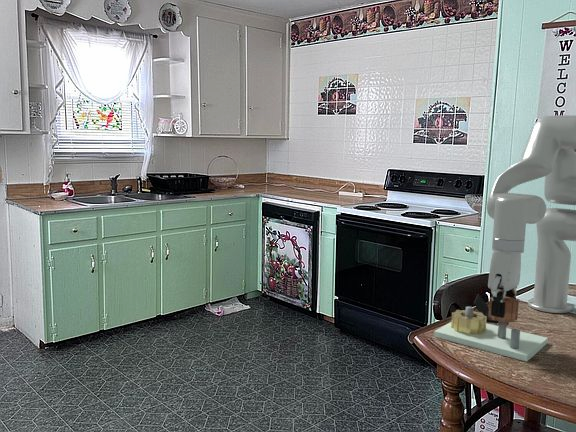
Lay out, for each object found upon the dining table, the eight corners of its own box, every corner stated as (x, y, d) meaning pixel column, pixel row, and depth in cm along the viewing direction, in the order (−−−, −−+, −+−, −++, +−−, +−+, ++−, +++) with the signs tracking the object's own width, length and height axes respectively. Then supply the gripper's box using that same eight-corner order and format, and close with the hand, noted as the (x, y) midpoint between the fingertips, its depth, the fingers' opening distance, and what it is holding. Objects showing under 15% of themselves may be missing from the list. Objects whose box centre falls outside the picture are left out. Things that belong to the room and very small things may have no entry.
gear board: (459, 321, 156) (461, 296, 155) (547, 343, 141) (549, 315, 140) (433, 336, 145) (435, 309, 144) (526, 361, 129) (529, 331, 128)
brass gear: (459, 321, 152) (460, 307, 152) (490, 328, 147) (491, 314, 146) (446, 329, 146) (447, 314, 145) (477, 337, 140) (478, 322, 140)
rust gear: (494, 312, 144) (495, 293, 143) (520, 317, 140) (522, 299, 139) (484, 318, 139) (485, 299, 139) (511, 324, 135) (512, 305, 134)
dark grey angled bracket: (514, 320, 154) (492, 290, 156) (492, 333, 156) (471, 304, 157) (509, 313, 165) (489, 286, 167) (489, 326, 167) (469, 298, 168)
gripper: (505, 239, 146) (500, 303, 148) (479, 247, 133) (475, 317, 135) (534, 242, 141) (529, 309, 143) (510, 252, 128) (505, 324, 130)
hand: (503, 312), depth 139 cm, fingers closed on rust gear, 6 cm apart
